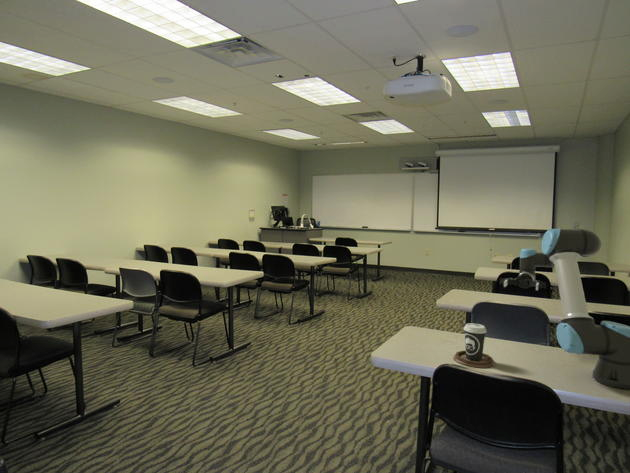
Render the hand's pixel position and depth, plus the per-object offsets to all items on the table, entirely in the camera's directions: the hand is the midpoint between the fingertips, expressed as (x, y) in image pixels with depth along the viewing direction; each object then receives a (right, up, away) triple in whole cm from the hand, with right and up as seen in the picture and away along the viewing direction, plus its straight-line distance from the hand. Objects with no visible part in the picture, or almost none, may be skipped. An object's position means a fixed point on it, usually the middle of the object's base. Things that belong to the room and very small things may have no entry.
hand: (520, 285), depth 190 cm
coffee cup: (-26, -31, -11) cm, 43 cm away
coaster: (-27, -32, -11) cm, 43 cm away
